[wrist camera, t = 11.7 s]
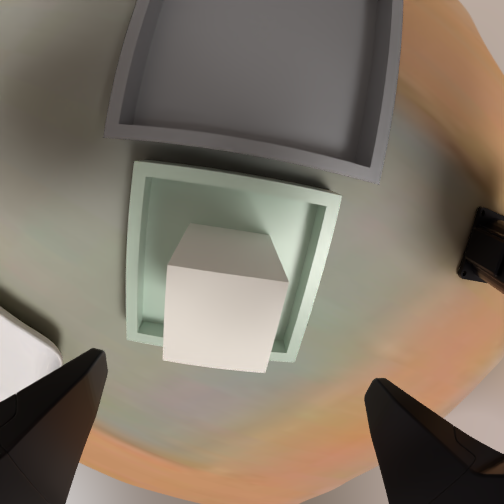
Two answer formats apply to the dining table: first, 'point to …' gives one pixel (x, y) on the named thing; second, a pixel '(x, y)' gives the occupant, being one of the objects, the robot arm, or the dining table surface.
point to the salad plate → (23, 355)
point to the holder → (231, 217)
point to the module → (223, 299)
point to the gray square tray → (263, 79)
